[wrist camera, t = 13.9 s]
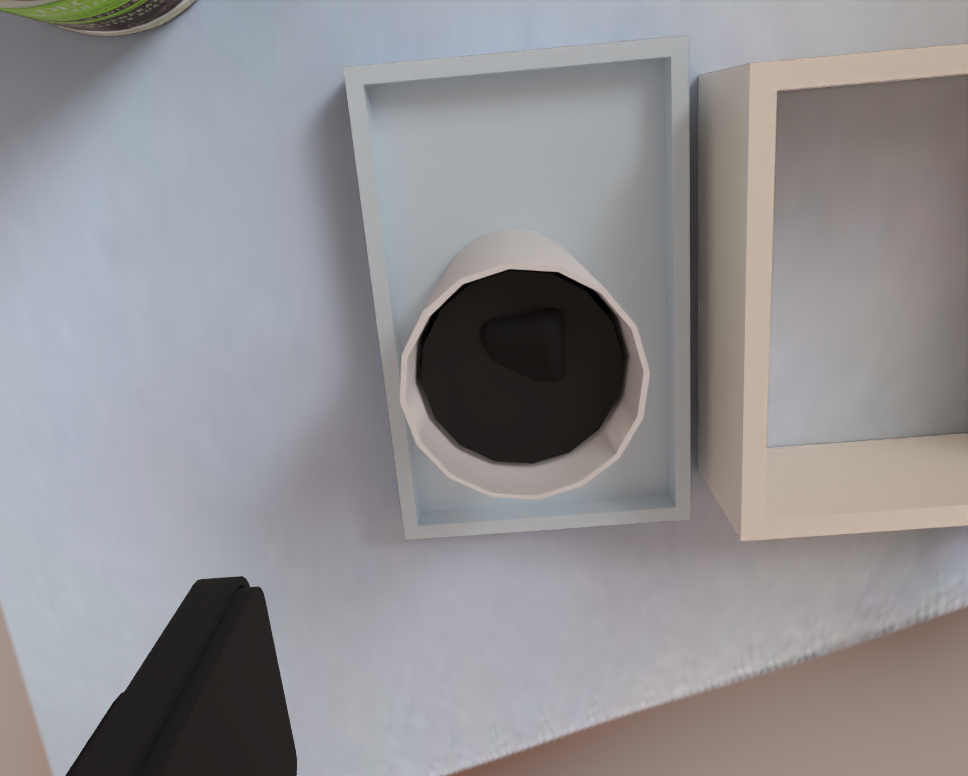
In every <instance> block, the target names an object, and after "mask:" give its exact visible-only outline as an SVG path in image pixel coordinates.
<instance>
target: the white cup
mask: <svg viewBox="0 0 968 776" xmlns="http://www.w3.org/2000/svg"><path fill="white" fill-rule="evenodd" d="M649 375H650V370H649V367H648V363H647V360H646V356H645V353H644V349H643V346H642V342H641V338H640V335H639V331H638V328H637V326H636V324H635V323H634V322H633V321H632V320H631V318H630V317H629V316H628V315H627V314H626V312H625V311H624V310H623V309H622V308H621V306H620V305H619V304H618V303H617V302H616V300H615V299H614V298H613V297H612V296H611V294H610V293H609V292H608V291H607V290H606V289H605V288H604V287H603V286H602V285H601V284H600V283H599V282H598V281H597V280H596V279H595V278H594V277H593V276H592V275H591V274H590V273H589V272H588V271H587V270H586V269H585V268H584V267H583V266H582V265H581V264H580V263H579V262H578V261H577V260H576V259H575V258H574V257H573V256H572V255H571V254H570V253H569V252H568V251H567V250H565V249H564V248H563V247H562V245H561V244H559V243H557V242H555V241H553V240H551V239H549V238H547V237H545V236H543V235H541V234H539V233H537V232H535V231H526V230H512V229H502V230H499V231H496V232H493V233H490V234H487V235H484V236H481V237H479V238H476V239H474V240H473V241H472V242H471V243H470V244H469V245H467V246H466V247H465V248H464V249H463V250H462V251H461V252H459V253H458V254H457V255H456V256H455V257H454V258H453V259H452V261H451V263H450V264H449V266H448V268H447V270H446V271H445V273H444V275H443V277H442V278H441V280H440V282H439V284H438V285H437V287H436V289H435V291H434V292H433V294H432V296H431V298H430V299H429V301H428V303H427V305H426V307H425V308H424V310H423V312H422V314H421V316H420V318H419V320H418V322H417V324H416V326H415V328H414V330H413V332H412V335H411V337H410V339H409V341H408V343H407V345H406V347H405V349H404V351H403V353H402V355H401V382H400V404H401V406H402V409H403V412H404V414H405V417H406V419H407V422H408V424H409V427H410V429H411V432H412V435H413V437H414V440H415V442H416V445H417V446H418V447H419V448H420V449H421V450H422V451H423V452H424V453H425V454H426V455H427V456H428V457H429V458H430V459H431V460H432V461H433V462H434V463H435V464H436V465H437V466H438V467H439V469H440V470H441V471H442V472H443V473H444V474H445V475H446V476H447V477H448V478H450V479H452V480H454V481H457V482H459V483H461V484H463V485H466V486H468V487H470V488H472V489H474V490H477V491H479V492H481V493H483V494H485V495H488V496H490V497H500V498H516V499H531V500H539V499H542V498H545V497H549V496H552V495H555V494H559V493H562V492H565V491H569V490H572V489H575V488H579V487H582V486H584V485H585V484H586V483H587V482H589V481H590V480H591V479H593V478H594V477H595V476H597V475H598V474H599V473H601V472H602V471H603V470H605V469H606V468H607V467H608V466H610V465H611V464H612V463H614V462H615V461H616V460H618V459H619V458H620V456H621V455H622V453H623V451H624V450H625V448H626V446H627V445H628V443H629V441H630V440H631V438H632V436H633V435H634V433H635V431H636V430H637V428H638V426H639V425H640V423H641V421H642V420H643V418H644V411H645V404H646V396H647V389H648V382H649Z"/></svg>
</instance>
